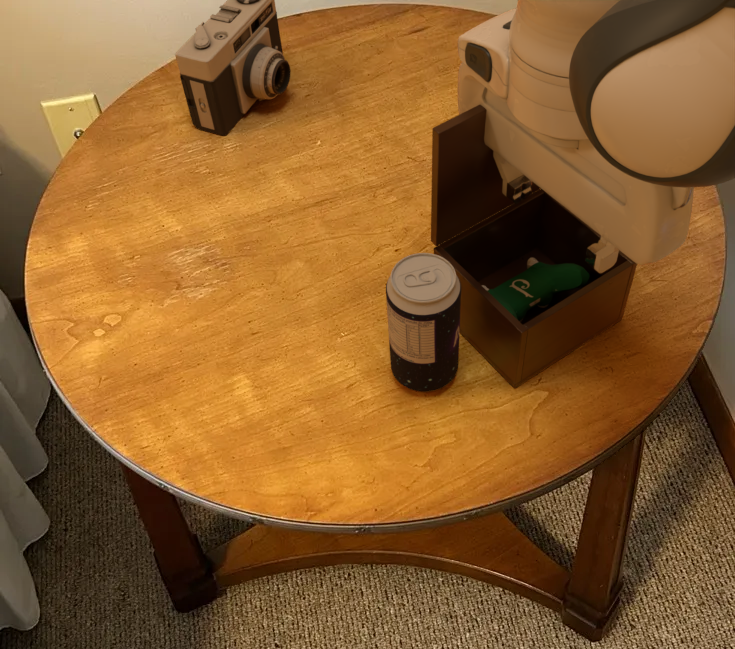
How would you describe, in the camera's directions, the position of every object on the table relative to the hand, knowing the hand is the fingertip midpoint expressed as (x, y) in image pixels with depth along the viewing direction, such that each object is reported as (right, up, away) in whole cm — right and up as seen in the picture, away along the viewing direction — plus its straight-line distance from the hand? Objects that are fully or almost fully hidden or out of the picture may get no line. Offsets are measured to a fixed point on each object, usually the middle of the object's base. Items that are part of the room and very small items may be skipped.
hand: (556, 228), depth 67 cm
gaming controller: (0, -6, +8) cm, 10 cm away
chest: (0, -6, +10) cm, 12 cm away
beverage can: (-10, -11, +7) cm, 17 cm away
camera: (-27, +18, +32) cm, 46 cm away
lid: (-4, +6, +2) cm, 7 cm away
